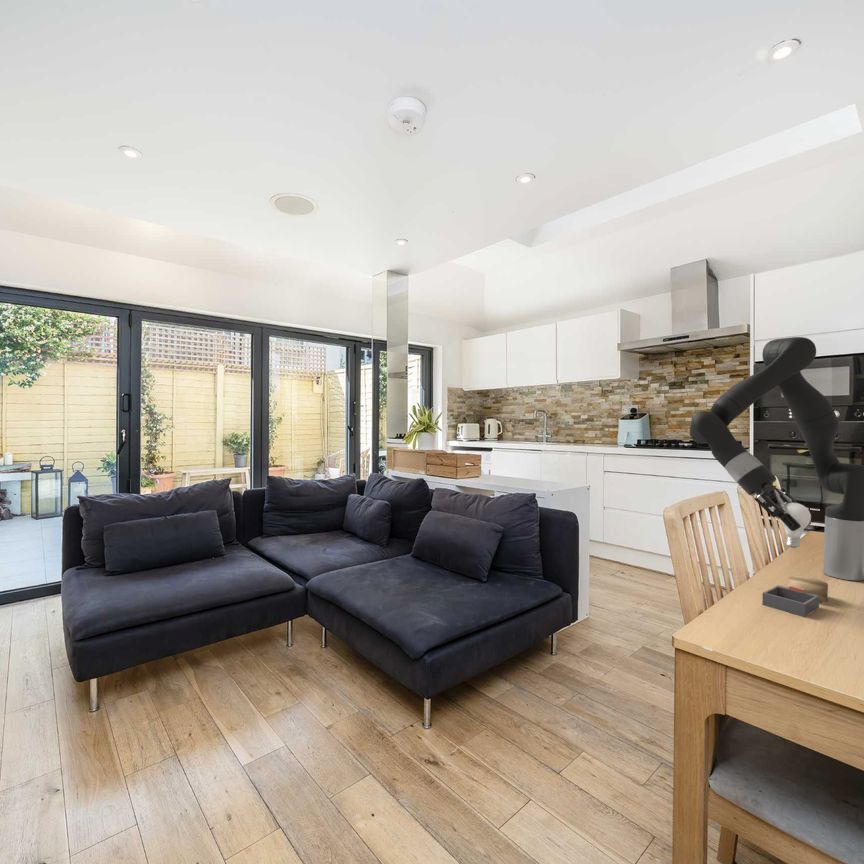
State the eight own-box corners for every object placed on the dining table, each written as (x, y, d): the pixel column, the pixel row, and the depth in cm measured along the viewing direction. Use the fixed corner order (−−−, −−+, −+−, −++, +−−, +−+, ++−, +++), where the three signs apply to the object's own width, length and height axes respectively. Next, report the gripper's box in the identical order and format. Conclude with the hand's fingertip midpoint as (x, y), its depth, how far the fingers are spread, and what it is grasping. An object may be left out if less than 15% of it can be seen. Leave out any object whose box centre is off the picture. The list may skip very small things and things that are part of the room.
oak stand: (794, 588, 129) (795, 574, 128) (831, 598, 122) (832, 582, 122) (783, 594, 124) (783, 579, 124) (821, 604, 117) (821, 589, 117)
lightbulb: (815, 552, 112) (817, 506, 112) (785, 550, 114) (787, 504, 113) (800, 544, 118) (802, 501, 118) (771, 542, 120) (773, 499, 119)
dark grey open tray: (777, 596, 123) (778, 582, 122) (818, 607, 116) (819, 592, 115) (762, 604, 117) (762, 589, 117) (804, 617, 110) (805, 600, 110)
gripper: (749, 465, 117) (805, 522, 108) (772, 462, 125) (826, 515, 116) (725, 484, 122) (777, 540, 113) (749, 480, 130) (799, 531, 121)
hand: (802, 527), depth 114 cm, fingers closed on lightbulb, 6 cm apart
